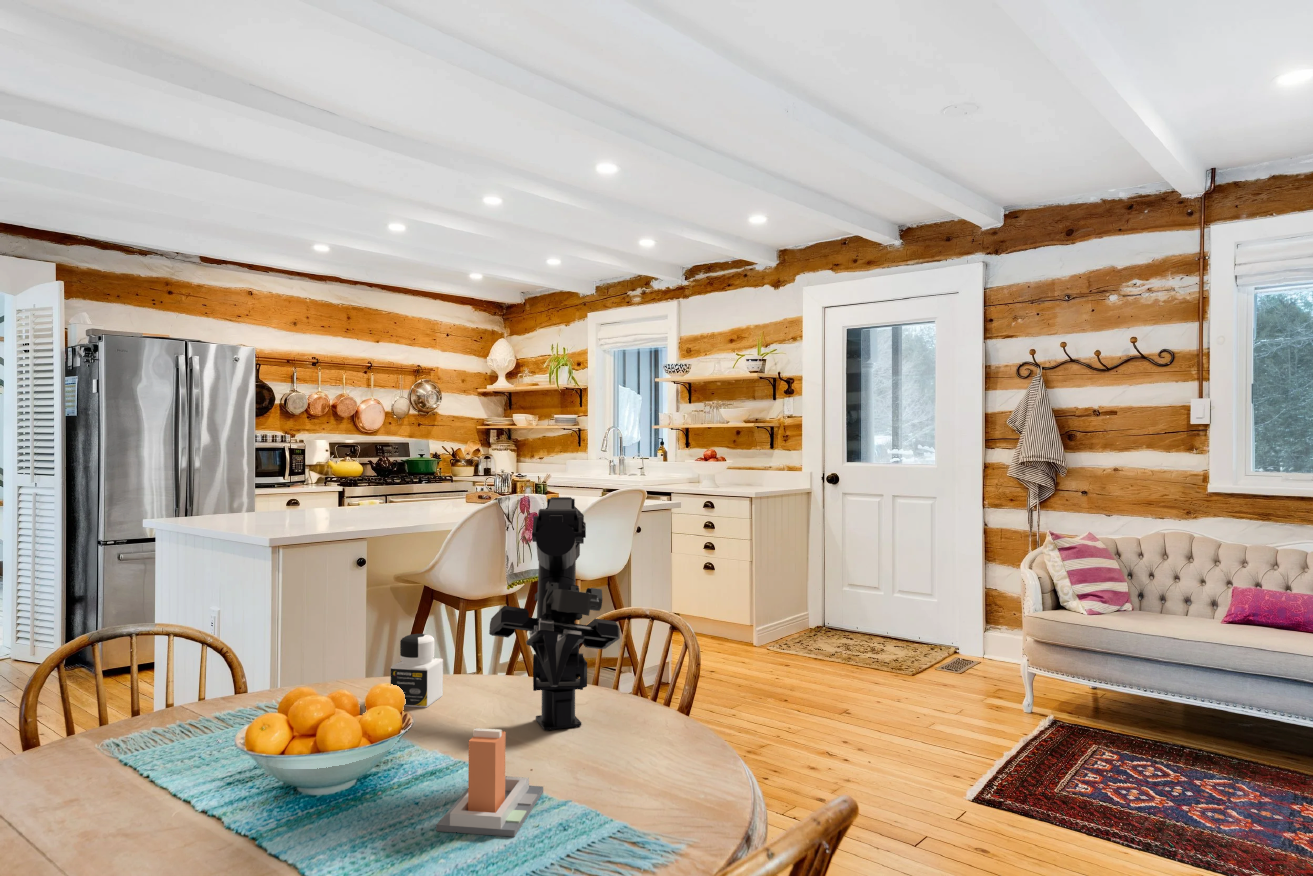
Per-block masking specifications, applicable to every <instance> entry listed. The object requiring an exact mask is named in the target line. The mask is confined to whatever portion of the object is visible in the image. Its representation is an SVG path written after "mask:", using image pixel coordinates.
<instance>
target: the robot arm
mask: <svg viewBox="0 0 1313 876" xmlns="http://www.w3.org/2000/svg"><path fill="white" fill-rule="evenodd" d="M575 501H576V499H575V498H573V497H571V496H568V497H567V496H564V497H563V496H557V497H556V496H554V497H553V496H552V497H550V498H547V499H546V503H547V504H546V508H539V509H538V514H537V515H534V517H533V524H532V530H531V531H532V532H531V540H532V542H533V543H535V544H536V553H537V561H538V571H537V572H538V575H537V576H538V577H537V578H538V579H537V592H536V593H534V601H536V617H530V616H529V611H528V609H527V608H523V607H516V606H509V605H503V606H502V607H501V608H500V609H499V610H498V611H497V612H495V614H494V615H493V616H492V617H491V618H490V622H489V631H488V632H489V633H488V634H489V635H491V636H493V637H500V638H501V637H502V638H510V637H511V636H512V635H513V634H515V633H516V630H520V631H525V632H526V631H528V632H529V637H528V639H527V640H526V642H525V644H526V646H530V647H531V648H532V649H533V651H534V654H533V657H532V658H533V659H532V683H533V685H532V689H533V690H532V691H534V692H536V691H541V715H540V714H539V715H536V716H535V720H536V721H537V723H538V724H539V725H540V726H541V728H542V729H543V730H544V731H551V730H553V731H554V730H559V729H567V728H575V727H581V726H582V721H580V719H579V718H578V717H577V716H576V691H577V690H580V691H583V690H584V688H587V687H588V661H587V660H585V659H586V658H585V657H584V652H583V653H582V652H581V653H580V644H581V643H582V645H583V646H584V647H585V648H587V649H596V650H605V649H607V648H608V647H610V646H611V645H612V644H614V643H615V642H617V641H618V640H619V639H620V638H621V636H620V632H621V629H620V627H619V625H618V623H617V622H616V620H615V621H614V620H608V619H603V618H601V619H600V618H593V620H592V621H590V622H588V624H581V623H576V621H580V620H581V619H583V616H587V617H588V616H590V613H591V611H594V612H600V611H601V610H602V606H603V589H601V588H594V587H587V589H586V591H585V592H583V591H580V588H579V587H580V586H579V585H577V584H576V582H577V581H576V568H577V567H576V566H577V563H576V562H577V560H578V558H579V557H580V555H581V554H580V553H581V545H582V544H583V545H584V542H585V541H584V540H585V539H586V536H587V534H586V533H587V531H586V527H587V525H586V524H587V523H586V522H585V518H584V517H585V515H584V514H583V513H582V511H580V510H579V509H578V508H577V507H576V502H575ZM584 538H585V539H584Z"/></svg>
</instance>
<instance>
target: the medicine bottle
mask: <svg viewBox="0 0 1313 876" xmlns="http://www.w3.org/2000/svg"><path fill="white" fill-rule="evenodd" d="M399 644H400V645H399V647H400V649H399V650H400V651H399V653H400V655H399V658H400V659H399V660H401V661H399V662H397V663H395V664H393V665H391V666H390V685H391V684H393V685H397V686H399V687H400V688H401V689H402V690H403V692H404V694H405V699H406V704H405V706H404V707H413V708H428V707H429V706H430V705H433V704H434V703H435V702H436V701H437V700H440V698H441V697H443V695H444V693H443V692H444V680H443V679H444V659H443V658H441V657H439V658H437V657H435V638H434V637H433V636H432V635H430V634H428V633H415V634H414V633H412V634H409V635H406V636H404V637H402V638H401V639H400V643H399Z"/></svg>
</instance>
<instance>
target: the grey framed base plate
mask: <svg viewBox="0 0 1313 876" xmlns="http://www.w3.org/2000/svg"><path fill="white" fill-rule="evenodd" d="M529 778H530V777H522V776H508V775H507V776H506V775H505V801H504V802H503V803H502V805H501V806H500V808H499V809H498V810H497V812H496V813H491V812H476V811H468V788H466V790H465V791H464V792H463V793H462V794H461V796H460V797H459V798H458V799H457V800H456V801H455V803H453V804H452V806H451V807H450V808H449V810H448V811H447V812H445V814H444V815H443V816H442V818H440V820H439V821H438V822H437V823H436V824H435V825H436V827H435V830H436V832H443V833H444V832H446V833H456V832H457V833H459V834H460V833H461V834H471V835H483V836H485V835H486V836H500V837H512V838H515V837H516V835H517V834H518V832H519V831H520V829H521V827H522V826H523V825H524V823H525V821H526V819H528V817H529V815H530V814H531V812H533V811H532V810H533V809H534V807H535V805H536V804H537V803H538V801H539V800H540V798H541V797H542V795H543V794H544V786H541V785H540V786H539V785H529V784H530V779H529Z"/></svg>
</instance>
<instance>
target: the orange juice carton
mask: <svg viewBox="0 0 1313 876" xmlns="http://www.w3.org/2000/svg"><path fill="white" fill-rule="evenodd" d="M472 734H473V736H472V737H471V738H470V739H469V740H468V773H467V774H468V776H467V777H468V778H467V780H468V781H467V782H468V785H467V786H468V787H467V789H468V811H476V812H491V813H496V812H497V810H498V809H499V808H500V806H501V805H502V803H503V802H504V801H505V776H506V737H507V736H506V735H507V734H506V731H503V730H502V729H499V728H498V729H497V728H495V729H494V728H479V727H476V728H474V729H473V730H472Z"/></svg>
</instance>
